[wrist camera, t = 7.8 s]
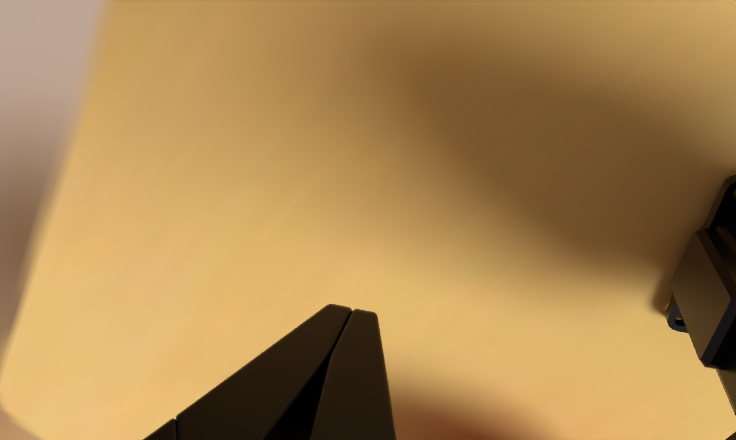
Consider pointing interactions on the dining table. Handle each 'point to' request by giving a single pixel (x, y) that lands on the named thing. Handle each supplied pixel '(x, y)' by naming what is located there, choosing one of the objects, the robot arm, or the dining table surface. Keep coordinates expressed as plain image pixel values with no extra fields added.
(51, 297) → the dining table surface
